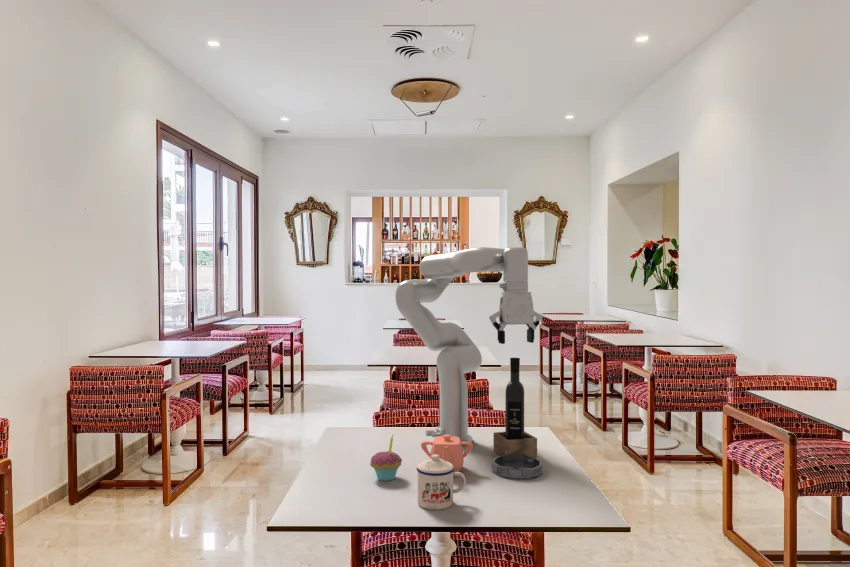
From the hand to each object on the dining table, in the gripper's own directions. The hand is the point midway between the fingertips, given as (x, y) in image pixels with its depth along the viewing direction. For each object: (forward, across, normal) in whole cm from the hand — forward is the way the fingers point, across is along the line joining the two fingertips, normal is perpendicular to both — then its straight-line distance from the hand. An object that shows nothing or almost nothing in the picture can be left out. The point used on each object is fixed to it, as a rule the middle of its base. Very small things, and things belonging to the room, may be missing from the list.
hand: (516, 342), depth 177 cm
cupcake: (+35, -43, -8) cm, 56 cm away
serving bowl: (+35, -6, -13) cm, 38 cm away
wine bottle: (+35, 0, +1) cm, 35 cm away
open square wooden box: (+35, 0, +1) cm, 35 cm away
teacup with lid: (+35, -34, -29) cm, 57 cm away
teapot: (+35, -25, -7) cm, 44 cm away
